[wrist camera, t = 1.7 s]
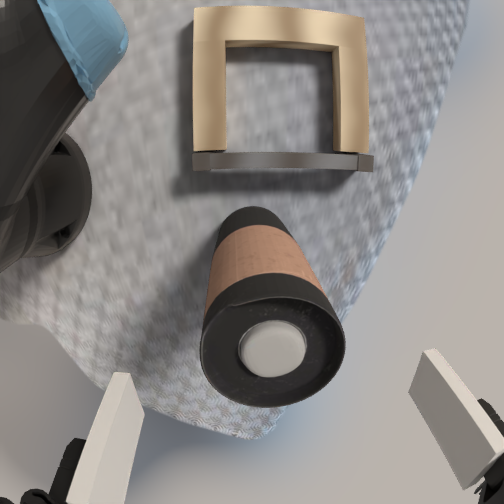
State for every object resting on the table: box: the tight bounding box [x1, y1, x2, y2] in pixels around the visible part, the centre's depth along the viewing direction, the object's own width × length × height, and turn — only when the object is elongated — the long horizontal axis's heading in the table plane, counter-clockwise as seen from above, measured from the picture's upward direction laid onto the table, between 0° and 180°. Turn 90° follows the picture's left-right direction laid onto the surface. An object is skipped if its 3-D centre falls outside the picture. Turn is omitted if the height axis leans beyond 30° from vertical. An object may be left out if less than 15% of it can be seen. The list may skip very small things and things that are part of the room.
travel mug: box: [200, 206, 345, 408], centre depth 24 cm, size 8×8×20 cm
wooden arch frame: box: [192, 6, 374, 172], centre depth 26 cm, size 17×17×4 cm
